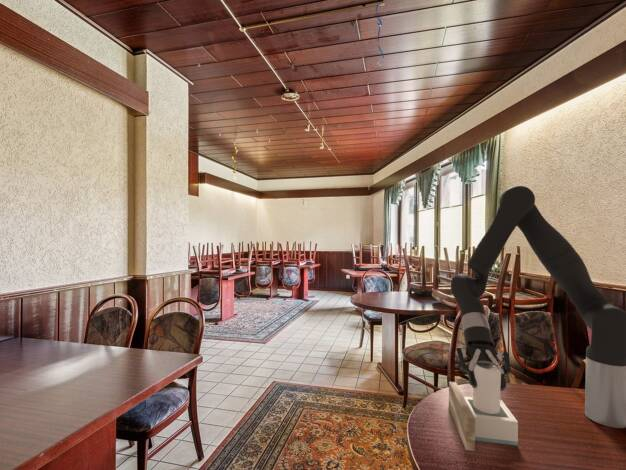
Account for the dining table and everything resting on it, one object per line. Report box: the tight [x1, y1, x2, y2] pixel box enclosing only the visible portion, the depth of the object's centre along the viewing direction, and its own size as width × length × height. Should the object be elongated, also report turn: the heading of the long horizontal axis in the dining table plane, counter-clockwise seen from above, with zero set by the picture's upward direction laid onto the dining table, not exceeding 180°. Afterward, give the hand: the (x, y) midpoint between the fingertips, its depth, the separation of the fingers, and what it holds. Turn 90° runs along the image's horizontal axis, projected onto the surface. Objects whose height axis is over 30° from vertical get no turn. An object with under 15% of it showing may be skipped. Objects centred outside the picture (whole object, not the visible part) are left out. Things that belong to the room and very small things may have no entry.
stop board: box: [448, 381, 476, 452], centre depth 91 cm, size 2×20×8 cm, turn 169°
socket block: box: [464, 396, 519, 446], centre depth 89 cm, size 11×11×6 cm
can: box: [472, 361, 501, 415], centre depth 89 cm, size 6×6×12 cm
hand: (488, 388), depth 88 cm, fingers closed on can, 6 cm apart
